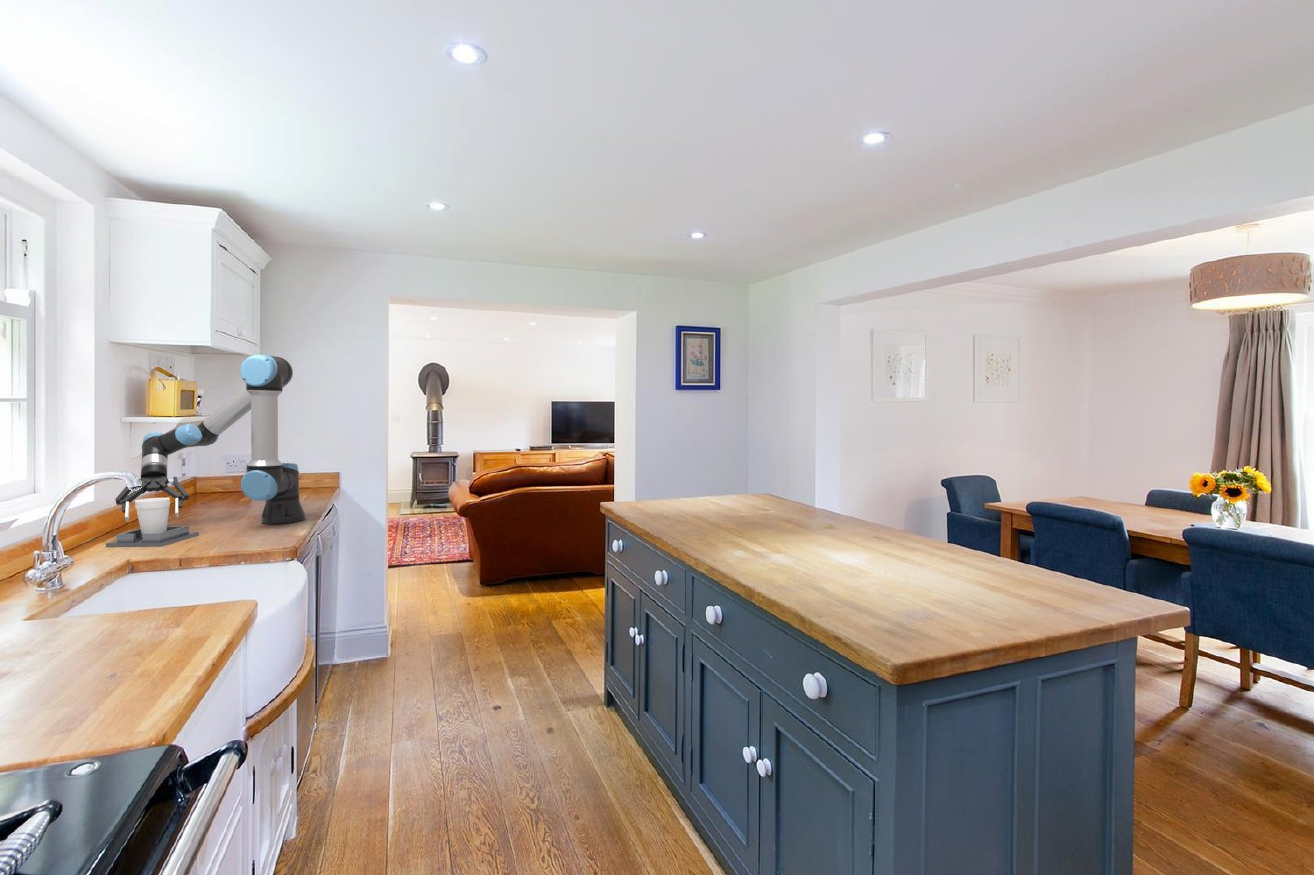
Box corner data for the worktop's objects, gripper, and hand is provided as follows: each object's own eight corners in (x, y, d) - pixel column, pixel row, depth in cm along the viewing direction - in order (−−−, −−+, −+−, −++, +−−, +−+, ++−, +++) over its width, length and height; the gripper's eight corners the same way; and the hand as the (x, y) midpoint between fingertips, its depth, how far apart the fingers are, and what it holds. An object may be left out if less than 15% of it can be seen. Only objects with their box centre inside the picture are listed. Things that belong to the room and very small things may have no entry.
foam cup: (178, 535, 226) (176, 498, 225) (149, 540, 217) (147, 502, 216) (158, 533, 229) (157, 497, 228) (130, 539, 220) (128, 501, 220)
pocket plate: (147, 535, 232) (147, 525, 232) (198, 535, 232) (198, 524, 232) (105, 547, 214) (105, 535, 214) (161, 546, 214) (160, 535, 214)
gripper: (197, 473, 244) (197, 519, 233) (111, 478, 231) (106, 527, 219) (195, 460, 240) (196, 507, 228) (107, 464, 226) (103, 514, 214)
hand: (152, 517), depth 224 cm, fingers open, 13 cm apart
